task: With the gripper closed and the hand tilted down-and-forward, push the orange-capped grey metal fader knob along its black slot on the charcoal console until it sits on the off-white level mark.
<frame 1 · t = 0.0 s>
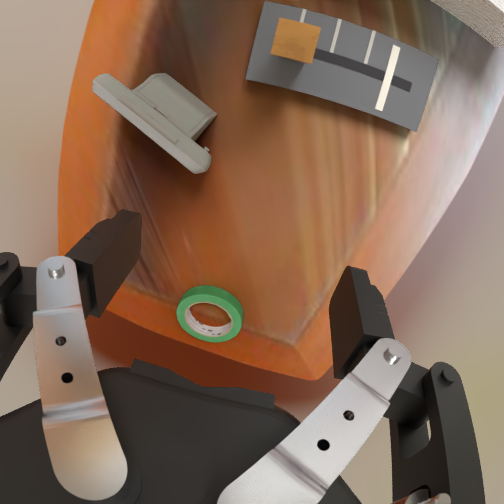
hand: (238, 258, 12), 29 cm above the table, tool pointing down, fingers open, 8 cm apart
console: (344, 63, 31), on the table
digital clock: (172, 116, 38), on the table
tape roll: (211, 309, 54), on the table
fader: (295, 44, 26), point 6 cm above the table, slide at -6.0 cm
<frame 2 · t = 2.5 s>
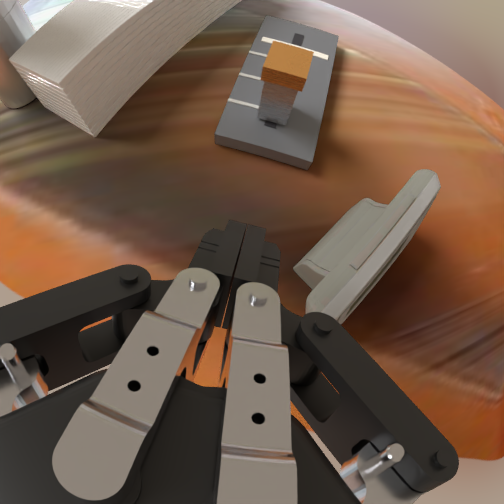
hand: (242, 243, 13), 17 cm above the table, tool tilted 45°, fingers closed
console: (283, 84, 34), on the table
digital clock: (349, 268, 31), on the table
stack of papers: (151, 39, 34), on the table
fader: (281, 87, 27), point 6 cm above the table, slide at -6.0 cm
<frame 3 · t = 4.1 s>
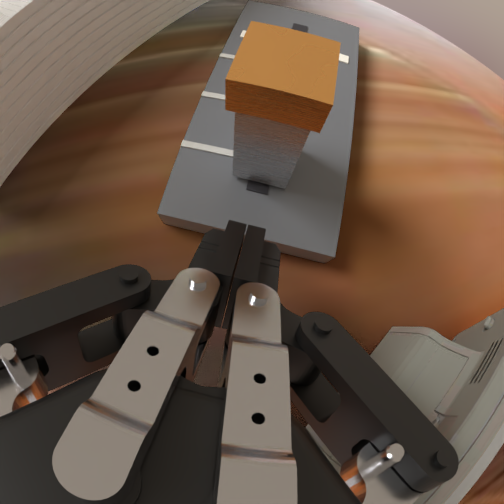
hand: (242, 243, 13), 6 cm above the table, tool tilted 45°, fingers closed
console: (279, 105, 21), on the table
digital clock: (386, 414, 18), on the table
stack of papers: (84, 51, 22), on the table
fader: (274, 118, 14), point 6 cm above the table, slide at -6.0 cm
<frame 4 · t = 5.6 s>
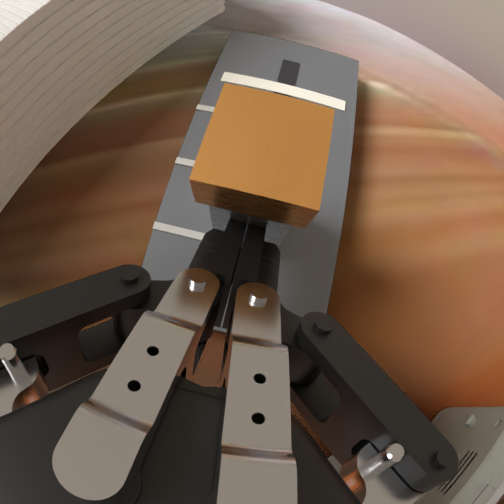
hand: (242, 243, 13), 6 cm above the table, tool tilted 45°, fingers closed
console: (265, 165, 20), on the table
digital clock: (365, 482, 16), on the table
stack of papers: (57, 92, 21), on the table
fader: (256, 192, 13), point 6 cm above the table, slide at -4.6 cm, touching gripper
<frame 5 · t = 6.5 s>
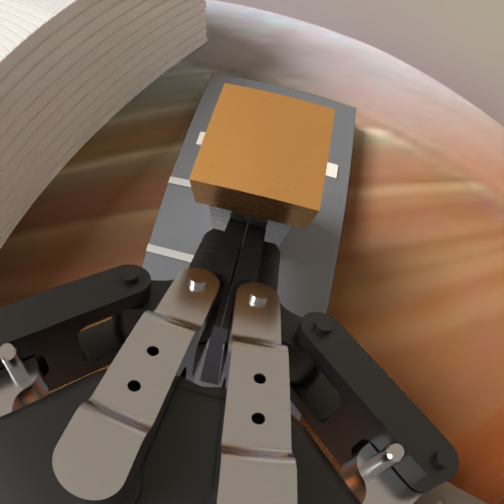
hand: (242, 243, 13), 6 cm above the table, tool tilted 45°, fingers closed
console: (245, 242, 19), on the table
stack of papers: (29, 143, 20), on the table
fader: (256, 192, 13), point 6 cm above the table, slide at 0.6 cm, touching gripper
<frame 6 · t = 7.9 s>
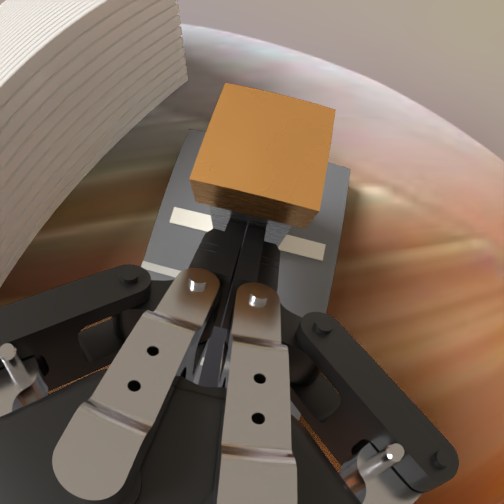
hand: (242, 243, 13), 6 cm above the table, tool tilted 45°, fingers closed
console: (225, 325, 18), on the table
stack of papers: (6, 197, 19), on the table
fader: (257, 191, 13), point 6 cm above the table, slide at 5.6 cm, touching gripper
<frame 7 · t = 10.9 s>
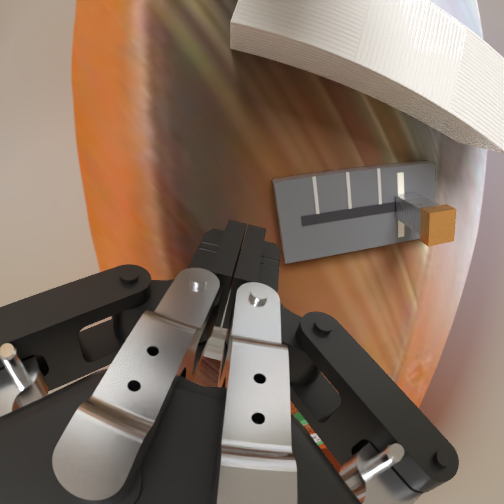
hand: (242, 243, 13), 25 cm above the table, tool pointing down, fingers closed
console: (359, 206, 38), on the table
digital clock: (222, 312, 44), on the table
tape roll: (309, 422, 56), on the table
stack of papers: (371, 55, 31), on the table
fader: (423, 215, 32), point 6 cm above the table, slide at 5.6 cm
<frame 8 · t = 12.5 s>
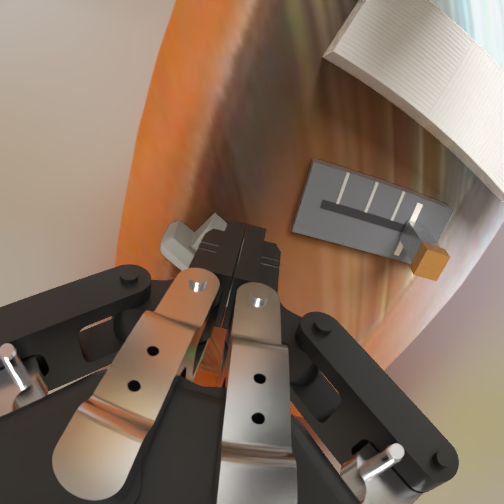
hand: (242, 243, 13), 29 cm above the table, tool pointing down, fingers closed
console: (373, 213, 42), on the table
digital clock: (219, 247, 48), on the table
stack of papers: (443, 98, 32), on the table
fader: (421, 247, 37), point 6 cm above the table, slide at 5.6 cm
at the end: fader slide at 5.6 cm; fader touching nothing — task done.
